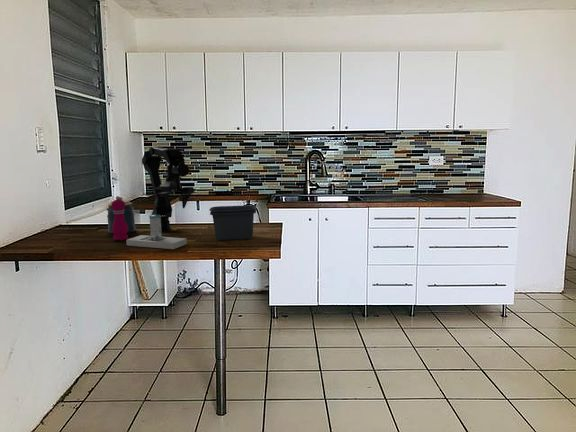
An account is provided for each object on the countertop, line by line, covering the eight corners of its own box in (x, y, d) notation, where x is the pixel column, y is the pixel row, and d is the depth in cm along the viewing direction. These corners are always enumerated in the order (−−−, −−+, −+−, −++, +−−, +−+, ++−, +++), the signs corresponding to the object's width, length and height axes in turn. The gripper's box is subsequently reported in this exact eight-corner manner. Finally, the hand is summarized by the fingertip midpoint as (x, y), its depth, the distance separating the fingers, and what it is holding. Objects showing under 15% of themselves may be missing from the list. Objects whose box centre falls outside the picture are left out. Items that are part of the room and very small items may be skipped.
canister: (140, 229, 237) (138, 195, 234) (127, 234, 224) (124, 198, 221) (117, 228, 239) (114, 195, 236) (103, 234, 226) (100, 198, 223)
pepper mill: (132, 237, 216) (129, 195, 213) (120, 240, 210) (117, 197, 207) (120, 236, 219) (117, 195, 216) (109, 239, 213) (105, 196, 210)
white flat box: (126, 245, 201) (126, 239, 200) (141, 240, 210) (141, 234, 210) (173, 249, 193) (173, 242, 192) (186, 244, 202) (186, 238, 201)
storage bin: (209, 241, 206) (208, 210, 204) (213, 234, 221) (211, 205, 219) (257, 240, 207) (256, 209, 205) (257, 233, 222) (256, 204, 220)
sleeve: (149, 244, 201) (147, 215, 199) (158, 243, 205) (156, 214, 202) (154, 246, 198) (152, 216, 196) (164, 244, 201) (162, 215, 199)
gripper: (146, 176, 214) (148, 209, 216) (181, 177, 207) (182, 211, 210) (161, 174, 224) (162, 206, 226) (194, 175, 217) (195, 207, 220)
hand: (175, 207), depth 220 cm, fingers open, 9 cm apart
